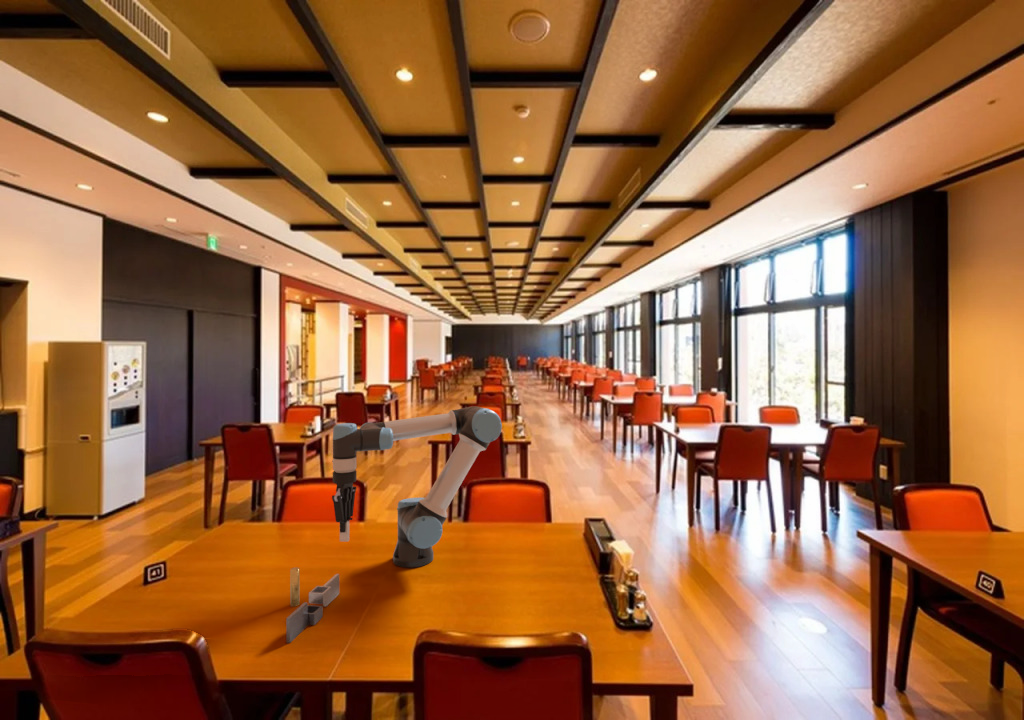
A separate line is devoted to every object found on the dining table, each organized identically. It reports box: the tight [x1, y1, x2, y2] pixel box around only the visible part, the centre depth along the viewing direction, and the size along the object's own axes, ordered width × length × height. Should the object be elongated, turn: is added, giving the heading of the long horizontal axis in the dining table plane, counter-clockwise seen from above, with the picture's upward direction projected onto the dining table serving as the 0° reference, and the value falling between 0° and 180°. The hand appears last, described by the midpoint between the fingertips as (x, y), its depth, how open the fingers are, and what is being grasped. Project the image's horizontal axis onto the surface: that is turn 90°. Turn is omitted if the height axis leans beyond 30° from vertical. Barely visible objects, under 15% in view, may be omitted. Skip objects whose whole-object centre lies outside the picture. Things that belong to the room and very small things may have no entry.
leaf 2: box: [308, 573, 340, 607], centre depth 152 cm, size 13×5×6 cm, turn 172°
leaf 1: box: [285, 601, 324, 644], centre depth 138 cm, size 14×5×7 cm, turn 172°
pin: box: [289, 566, 301, 608], centre depth 152 cm, size 3×3×11 cm
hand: (344, 540), depth 163 cm, fingers closed
